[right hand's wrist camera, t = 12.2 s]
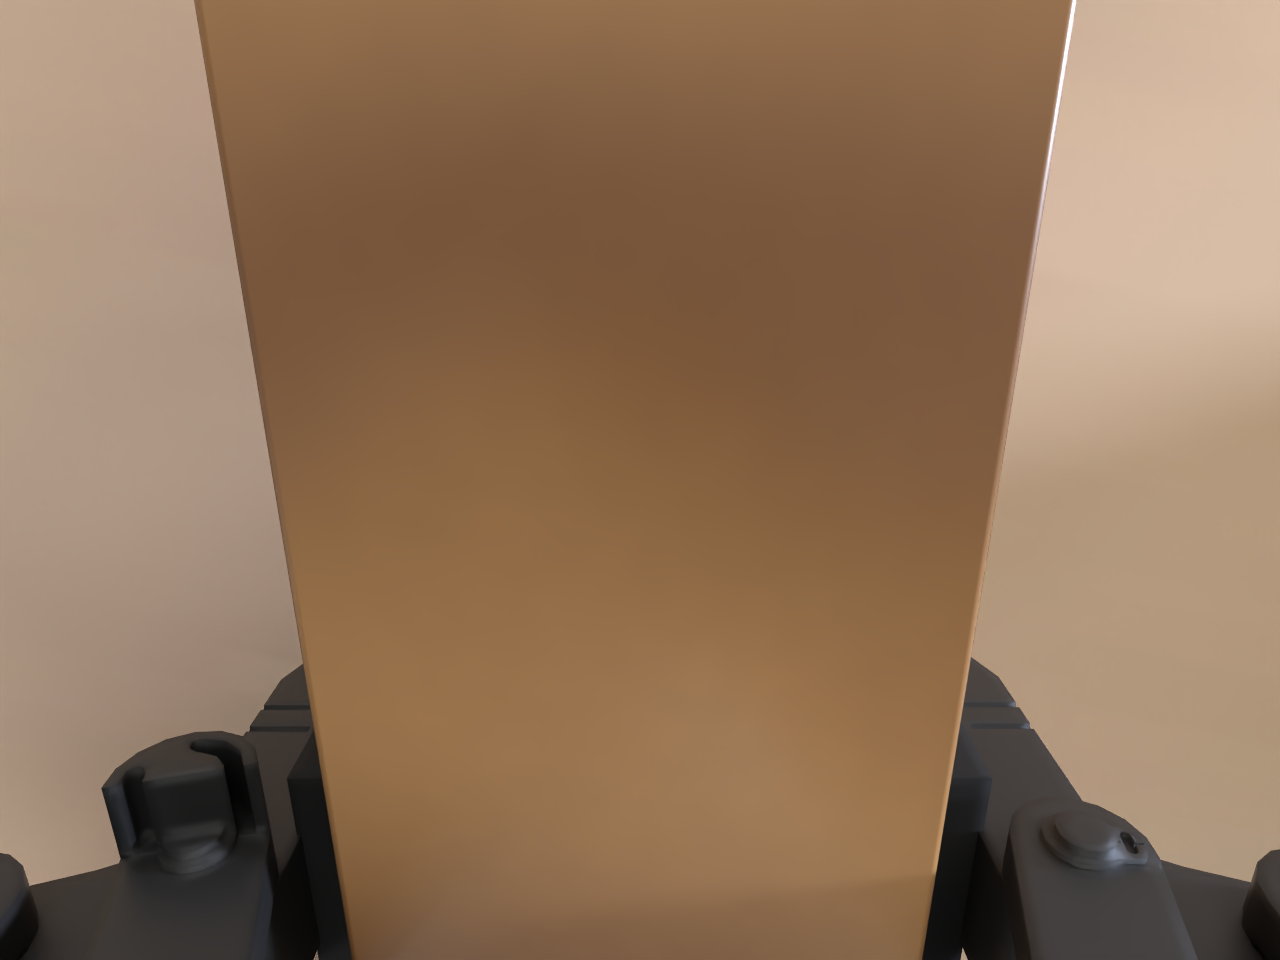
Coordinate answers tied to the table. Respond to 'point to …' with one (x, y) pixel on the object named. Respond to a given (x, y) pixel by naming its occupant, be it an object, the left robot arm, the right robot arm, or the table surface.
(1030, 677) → the table surface
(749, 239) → the bar
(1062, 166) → the table surface
